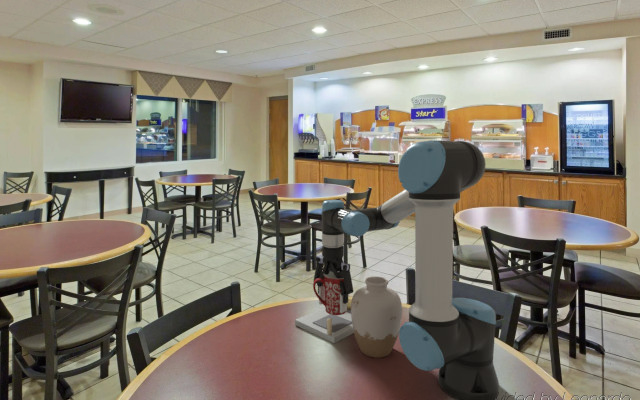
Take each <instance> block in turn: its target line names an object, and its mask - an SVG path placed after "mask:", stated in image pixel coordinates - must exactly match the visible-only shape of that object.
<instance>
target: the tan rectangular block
mask: <svg viewBox="0 0 640 400" xmlns="http://www.w3.org/2000/svg"><path fill="white" fill-rule="evenodd" d="M351 302H352V298H348V303H347V309H349V310H351Z"/></svg>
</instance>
